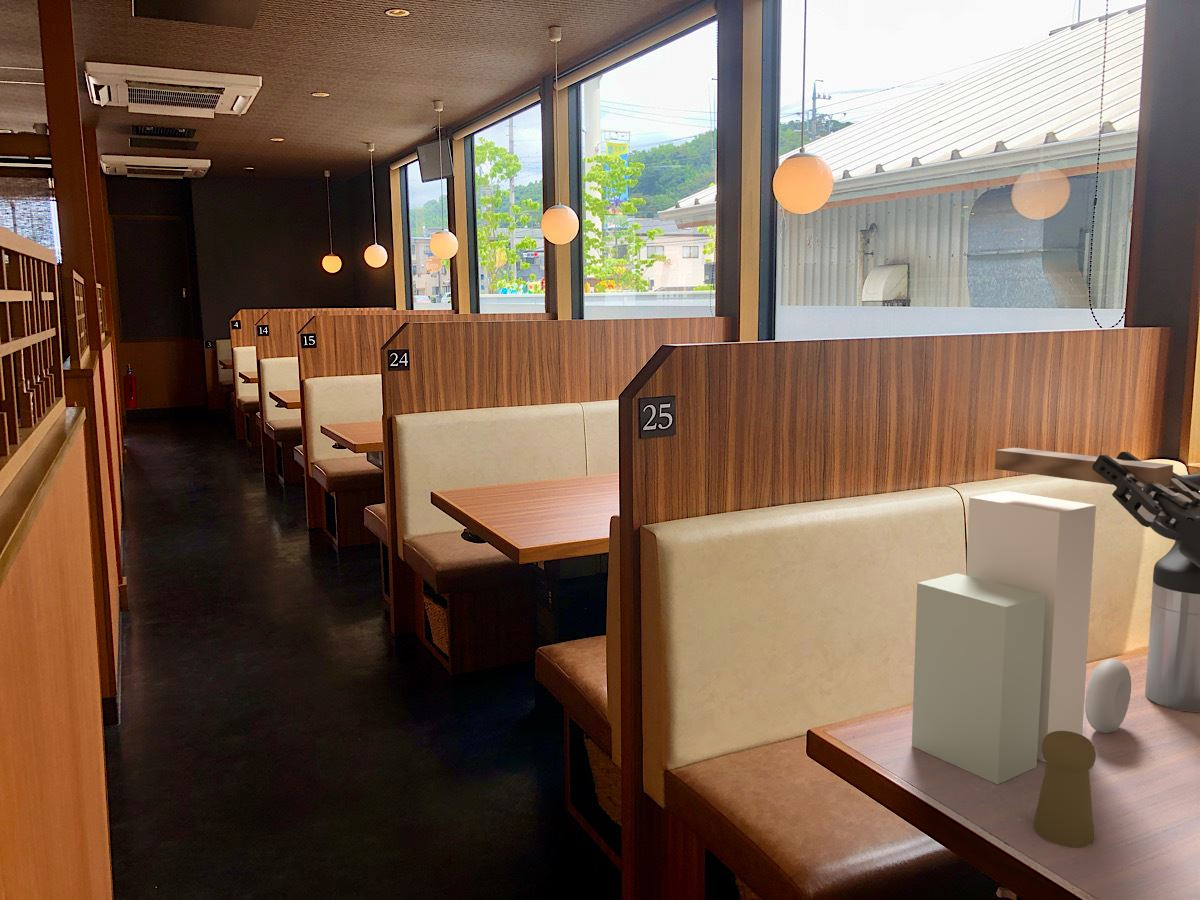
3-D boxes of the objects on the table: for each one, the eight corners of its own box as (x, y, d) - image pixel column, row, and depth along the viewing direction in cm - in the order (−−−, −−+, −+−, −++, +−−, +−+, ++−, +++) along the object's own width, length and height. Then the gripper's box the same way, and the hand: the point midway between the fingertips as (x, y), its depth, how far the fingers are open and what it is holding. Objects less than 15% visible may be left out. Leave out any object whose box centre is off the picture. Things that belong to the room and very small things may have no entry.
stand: (1081, 746, 121) (1096, 505, 117) (997, 784, 111) (1010, 523, 107) (995, 713, 131) (1005, 490, 127) (911, 745, 122) (919, 506, 117)
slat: (994, 469, 121) (995, 450, 121) (1013, 466, 124) (1014, 447, 123) (1153, 490, 105) (1155, 468, 104) (1171, 486, 107) (1173, 464, 107)
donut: (1107, 747, 121) (1111, 673, 119) (1079, 738, 123) (1083, 666, 122) (1132, 723, 127) (1137, 653, 126) (1105, 716, 130) (1109, 647, 129)
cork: (1108, 840, 99) (1114, 743, 98) (1064, 852, 97) (1070, 752, 96) (1062, 813, 105) (1068, 720, 103) (1020, 823, 103) (1025, 728, 101)
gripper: (1293, 518, 101) (1156, 428, 113) (1231, 535, 94) (1091, 437, 105) (1250, 569, 105) (1122, 477, 117) (1187, 589, 98) (1057, 489, 109)
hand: (1108, 459), depth 111 cm, fingers closed on slat, 4 cm apart
